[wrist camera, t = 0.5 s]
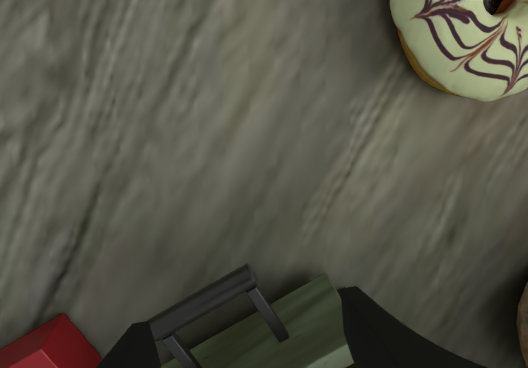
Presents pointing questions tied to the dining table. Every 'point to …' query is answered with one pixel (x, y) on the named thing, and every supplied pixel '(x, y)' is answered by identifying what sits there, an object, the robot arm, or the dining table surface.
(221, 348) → the drawer
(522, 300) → the pipe
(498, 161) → the dining table surface
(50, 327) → the chocolate bar
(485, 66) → the decorated donut
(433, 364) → the robot arm
